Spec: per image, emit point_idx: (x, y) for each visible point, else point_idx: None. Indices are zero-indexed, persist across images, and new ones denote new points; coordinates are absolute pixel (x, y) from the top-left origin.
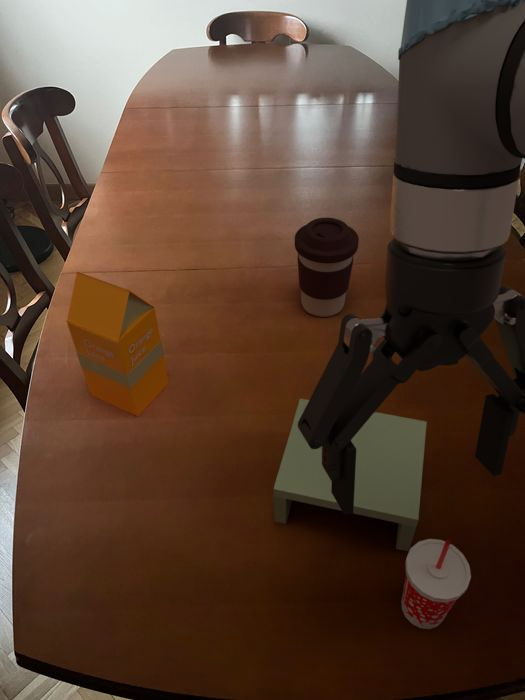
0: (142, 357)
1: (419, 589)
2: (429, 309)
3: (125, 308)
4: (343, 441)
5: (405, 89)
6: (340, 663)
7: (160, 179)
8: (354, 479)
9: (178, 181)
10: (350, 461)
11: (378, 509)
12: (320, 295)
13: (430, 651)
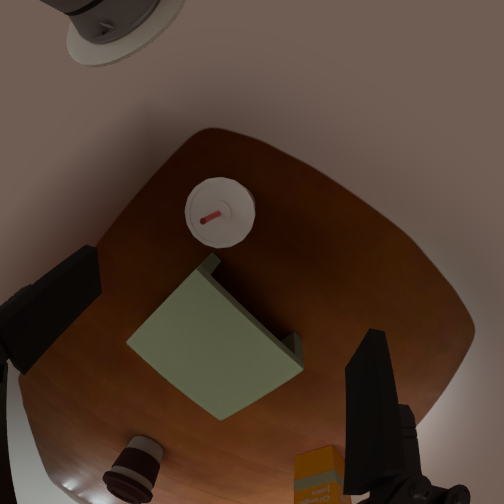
0: (316, 487)
1: (253, 204)
2: None
3: None
4: (409, 495)
5: None
6: (330, 206)
7: None
8: (380, 394)
9: None
10: (394, 441)
11: (225, 300)
12: (148, 457)
13: (256, 171)
